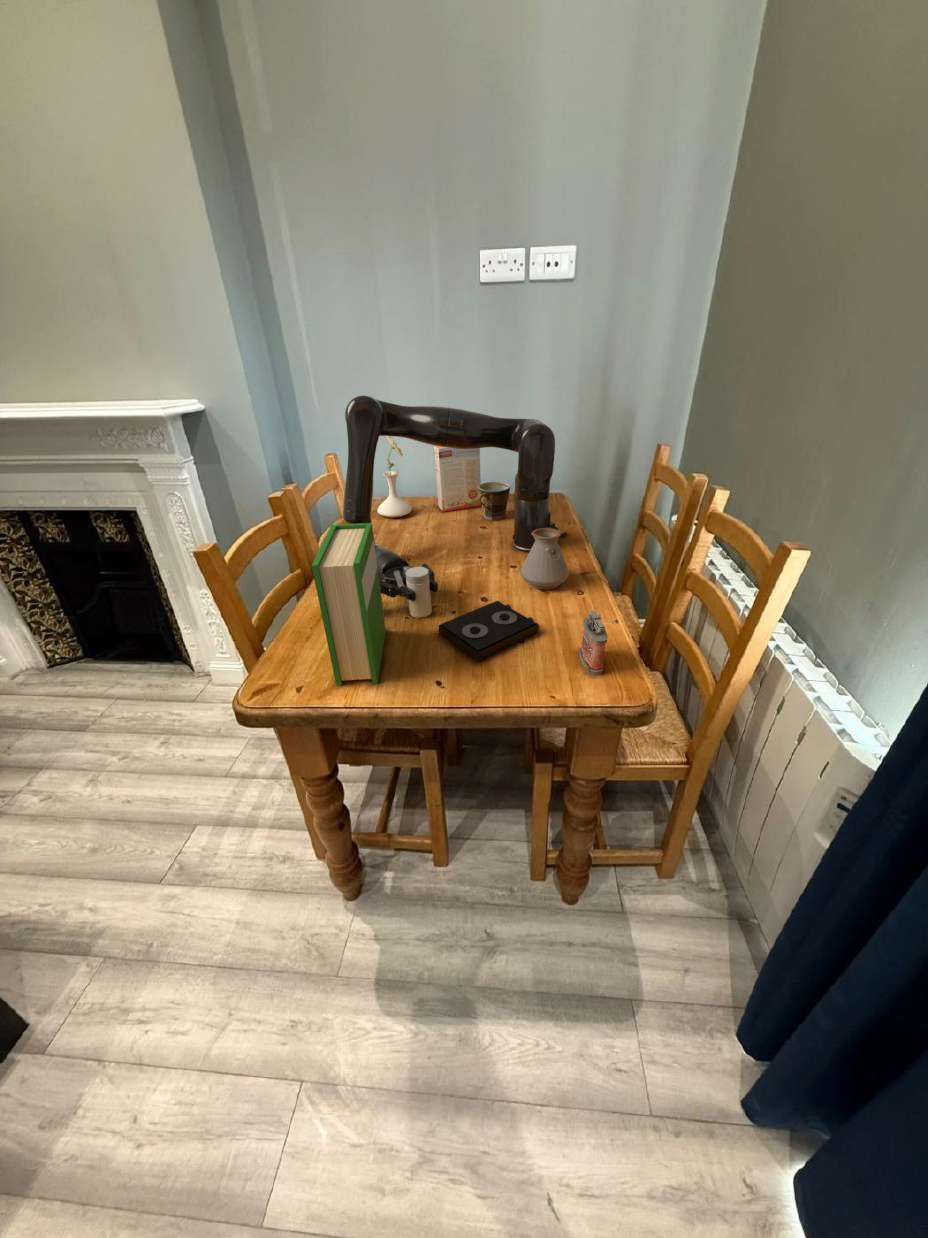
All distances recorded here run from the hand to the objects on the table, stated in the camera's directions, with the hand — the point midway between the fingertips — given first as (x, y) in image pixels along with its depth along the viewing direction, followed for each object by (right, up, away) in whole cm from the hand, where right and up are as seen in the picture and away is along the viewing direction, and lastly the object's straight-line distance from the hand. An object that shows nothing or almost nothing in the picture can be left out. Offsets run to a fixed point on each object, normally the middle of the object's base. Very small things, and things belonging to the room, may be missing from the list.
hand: (425, 592), depth 108 cm
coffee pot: (+28, +1, +11) cm, 30 cm away
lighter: (+32, -14, -13) cm, 37 cm away
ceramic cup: (+17, +27, +54) cm, 63 cm away
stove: (+13, -9, -3) cm, 16 cm away
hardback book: (-11, -13, -9) cm, 20 cm away
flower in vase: (-15, +29, +61) cm, 69 cm away
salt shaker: (-1, -4, +5) cm, 7 cm away
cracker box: (+7, +33, +65) cm, 73 cm away
